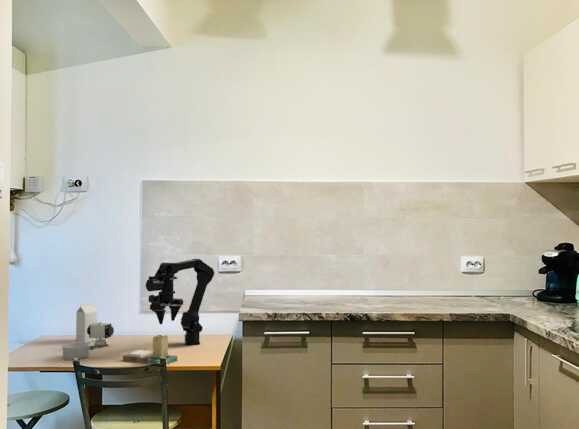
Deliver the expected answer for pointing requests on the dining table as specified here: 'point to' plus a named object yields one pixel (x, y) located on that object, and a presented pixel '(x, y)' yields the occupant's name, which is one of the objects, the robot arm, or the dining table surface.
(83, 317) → the milk carton
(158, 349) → the brass clip
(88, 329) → the pneumatic valve
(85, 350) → the saucepan
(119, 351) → the dining table surface
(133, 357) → the divided tray
